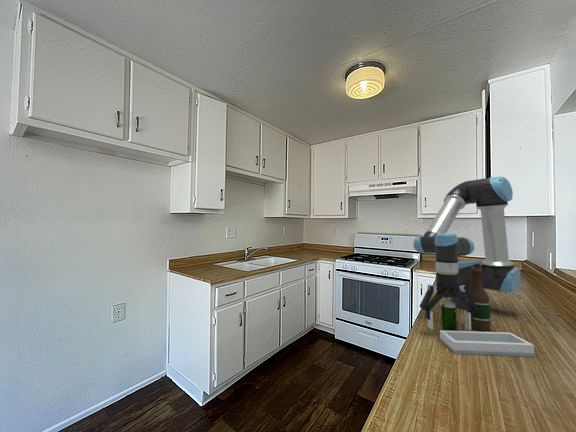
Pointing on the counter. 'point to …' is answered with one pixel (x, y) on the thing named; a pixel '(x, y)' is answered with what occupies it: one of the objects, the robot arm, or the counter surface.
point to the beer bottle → (480, 303)
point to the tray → (486, 343)
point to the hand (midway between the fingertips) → (449, 328)
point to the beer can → (448, 316)
